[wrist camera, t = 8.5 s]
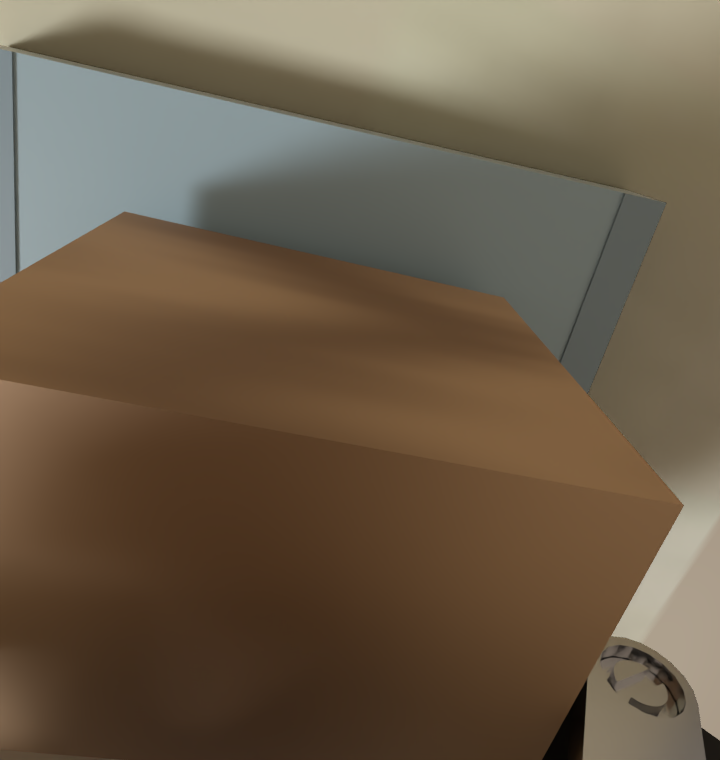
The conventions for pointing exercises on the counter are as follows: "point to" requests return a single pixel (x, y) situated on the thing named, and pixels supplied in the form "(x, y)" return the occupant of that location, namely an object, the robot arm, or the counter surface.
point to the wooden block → (296, 510)
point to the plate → (313, 195)
